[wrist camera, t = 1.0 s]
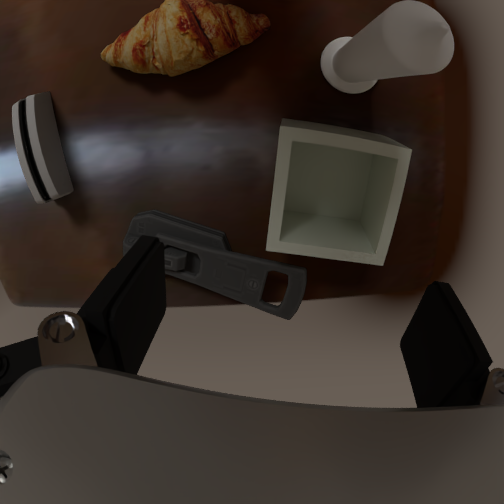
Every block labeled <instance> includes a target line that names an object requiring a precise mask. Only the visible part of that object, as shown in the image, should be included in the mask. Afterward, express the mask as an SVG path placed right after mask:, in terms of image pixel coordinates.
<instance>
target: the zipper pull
mask: <svg viewBox="0 0 504 504" xmlns="http://www.w3.org/2000/svg"><path fill="white" fill-rule="evenodd" d="M142 235H147V236H153V237H158V238H159V240H160V242H163V243H164V253H165V274H168V275H171V276H174V277H177V278H180V279H182V280H185V281H188V282H191V283H194V284H197V285H199V286H202V287H204V288H207V289H209V290H212V291H214V292H217V293H219V294H222V295H224V296H227V297H229V298H232V299H234V300H237V301H239V302H242V303H245V304H247V305H250V306H252V307H255V308H258V309H260V310H262V311H265V312H268V313H270V314H273V315H276V316H279V317H281V318H284V319H287V320H290V319H291V318H292V317H293V315H294V314H295V313H296V312H297V310H298V308H299V306H300V304H301V301H302V299H303V296H304V292H305V288H306V283H307V269H306V268H304V267H299V266H295V265H291V264H286V263H282V262H277V261H272V260H267V259H263V258H258V257H254V256H249V255H245V254H240V253H236V252H231V247H230V245H229V242H228V240H227V237H226V235H225V233H224V232H222V231H219V230H216V229H213V228H210V227H207V226H204V225H200V224H197V223H194V222H191V221H188V220H185V219H182V218H179V217H176V216H173V215H170V214H167V213H164V212H161V211H158V210H151V211H146V212H141V213H138V214H137V215H136V216H135V217H134V218H133V219H132V221H131V224H130V226H129V229H128V232H127V234H126V236H125V238H124V240H123V255H124V256H125V254H126V253H127V252H128V251H129V250H130V248H131V247H132V246H133V245H134V244H135V242H136V241H137V240H138V239H139V238H140V236H142ZM273 270H274V271H277V272H280V273H284V274H287V275H288V287H287V290H286V293H285V296H284V299H283V301H282V302H281V304H280V305H279V306H276V305H273V304H269V303H266V302H264V301H263V300H262V299H261V297H262V293H263V290H264V286H265V282H266V278H267V274H268V272H269V271H273Z"/></svg>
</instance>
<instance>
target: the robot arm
mask: <svg viewBox="0 0 504 504" xmlns="http://www.w3.org/2000/svg"><path fill="white" fill-rule="evenodd" d="M165 311H166V286H165V253H164V243H163V242H160V240H159V238H158V237H153V236H147V235H142V236H140V238H139V239H138V240H137V241H136V242H135V244H134V245H133V246H132V247H131V248H130V250H129V251H128V252H127V253H126V254H125V256H124V257H123V258H122V259H121V261H120V262H119V263H118V264H117V266H116V267H115V268H112V269H111V270H110V271H109V272H108V274H107V275H106V276H105V277H104V279H103V280H102V281H101V282H100V284H99V285H98V286H97V288H96V289H95V290H94V291H93V293H92V294H91V295H90V297H89V298H88V299H87V301H86V302H85V303H84V305H83V306H82V307H81V309H80V310H79V311H78V313H77V314H75V313H73V312H68V311H61V312H56V313H53V314H51V315H49V316H48V317H46V318H45V319H44V320H43V321H42V322H41V323H40V325H39V327H38V334H37V335H38V336H37V337H34V338H30V339H27V340H24V341H21V342H18V343H14V344H11V345H8V346H5V347H1V348H0V504H504V369H501V368H494V369H493V370H491V372H490V371H489V369H488V367H489V366H490V365H491V363H492V362H493V361H492V359H491V357H490V355H489V353H488V351H487V349H486V347H485V345H484V343H483V341H482V340H481V338H480V336H479V334H478V332H477V330H476V328H475V327H474V325H473V323H472V321H471V320H470V318H469V316H468V315H467V313H466V311H465V309H464V308H463V306H462V304H461V302H460V301H459V299H458V297H457V296H456V294H455V292H454V291H453V289H452V288H451V286H450V285H449V283H444V282H438V281H434V282H433V283H432V284H430V285H428V287H427V289H426V291H425V293H424V295H423V297H422V299H421V301H420V303H419V305H418V308H417V310H416V311H415V314H414V315H413V317H412V319H411V321H410V323H409V325H408V327H407V329H406V331H405V333H404V335H403V337H402V339H401V342H400V348H401V351H402V354H403V358H404V361H405V364H406V368H407V371H408V375H409V378H410V382H411V385H412V389H413V393H414V397H415V400H416V404H417V408H365V407H343V406H327V405H314V404H302V403H293V402H284V401H276V400H267V399H259V398H252V397H246V396H239V395H233V394H227V393H221V392H215V391H210V390H204V389H199V388H194V387H189V386H184V385H179V384H174V383H170V382H165V381H160V380H156V379H152V378H147V377H143V376H139V375H137V373H138V371H139V368H140V366H141V364H142V362H143V360H144V357H145V355H146V353H147V351H148V349H149V346H150V344H151V342H152V340H153V338H154V336H155V333H156V331H157V329H158V327H159V325H160V323H161V321H162V319H163V317H164V314H165Z"/></svg>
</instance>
